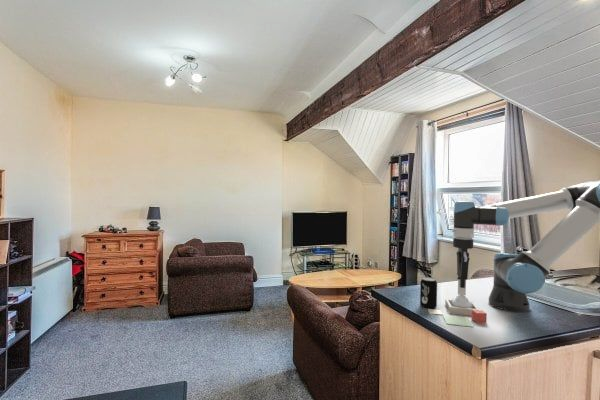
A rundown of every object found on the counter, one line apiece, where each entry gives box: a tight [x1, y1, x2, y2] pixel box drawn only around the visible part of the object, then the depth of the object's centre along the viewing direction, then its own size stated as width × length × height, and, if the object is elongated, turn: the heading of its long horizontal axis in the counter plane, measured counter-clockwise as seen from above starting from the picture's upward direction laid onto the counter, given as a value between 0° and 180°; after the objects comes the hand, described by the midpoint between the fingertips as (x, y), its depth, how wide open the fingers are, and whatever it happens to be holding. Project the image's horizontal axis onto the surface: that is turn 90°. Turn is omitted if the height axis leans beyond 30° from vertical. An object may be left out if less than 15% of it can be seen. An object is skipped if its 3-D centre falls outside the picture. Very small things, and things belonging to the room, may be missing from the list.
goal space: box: [442, 314, 474, 328], centre depth 121 cm, size 9×9×1 cm
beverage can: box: [419, 276, 438, 310], centre depth 137 cm, size 7×7×12 cm
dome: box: [451, 294, 473, 309], centre depth 134 cm, size 8×8×5 cm
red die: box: [471, 309, 488, 324], centre depth 122 cm, size 4×4×4 cm
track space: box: [427, 308, 444, 316], centre depth 131 cm, size 5×5×1 cm
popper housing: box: [444, 298, 480, 317], centre depth 134 cm, size 11×11×2 cm
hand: (461, 294), depth 134 cm, fingers closed
